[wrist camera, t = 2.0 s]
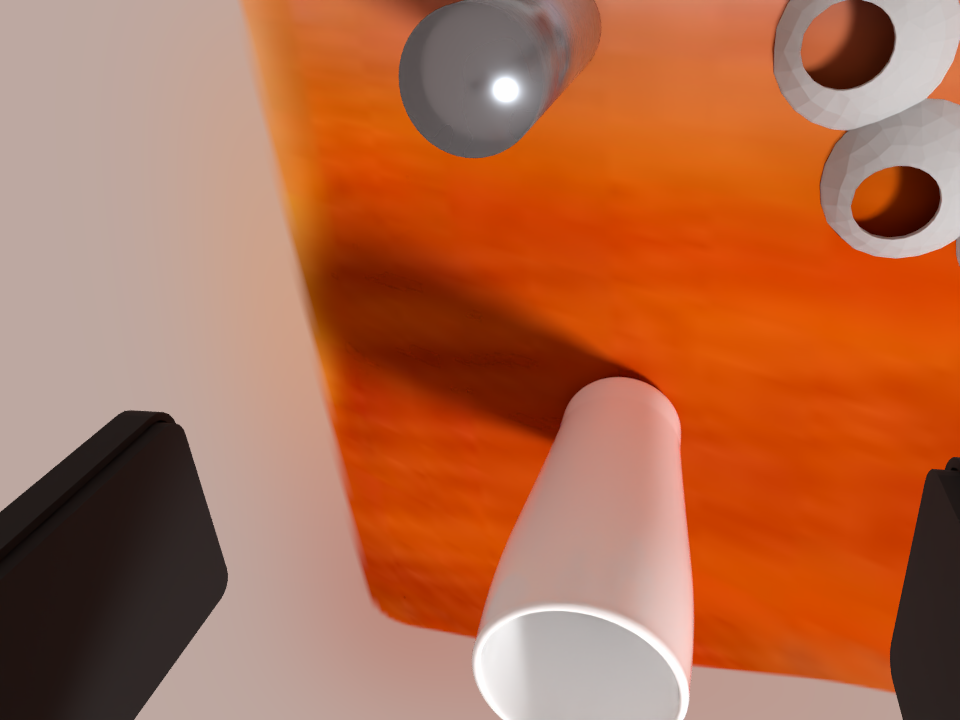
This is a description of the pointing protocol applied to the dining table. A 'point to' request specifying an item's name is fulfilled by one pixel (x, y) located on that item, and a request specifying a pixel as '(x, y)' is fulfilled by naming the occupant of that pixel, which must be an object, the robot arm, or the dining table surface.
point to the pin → (493, 69)
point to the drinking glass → (596, 572)
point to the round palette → (884, 118)
